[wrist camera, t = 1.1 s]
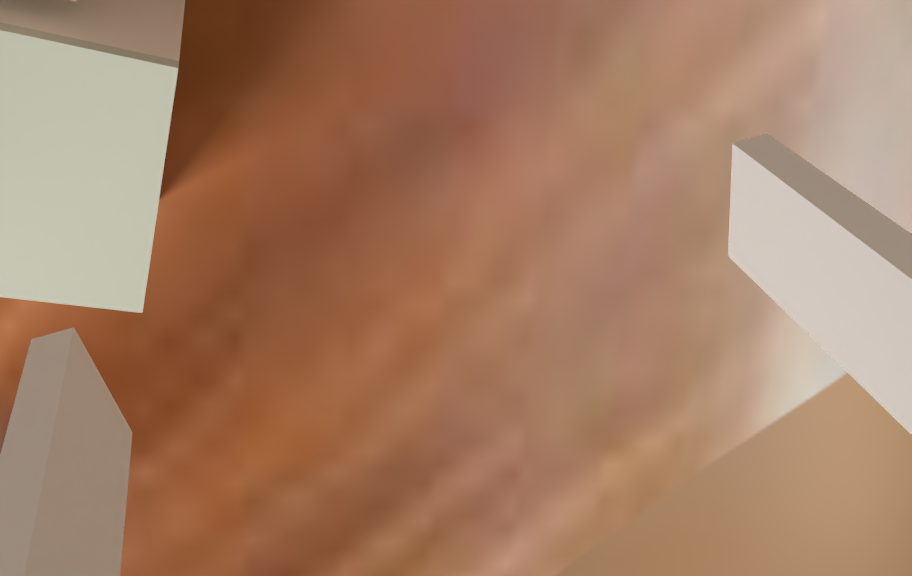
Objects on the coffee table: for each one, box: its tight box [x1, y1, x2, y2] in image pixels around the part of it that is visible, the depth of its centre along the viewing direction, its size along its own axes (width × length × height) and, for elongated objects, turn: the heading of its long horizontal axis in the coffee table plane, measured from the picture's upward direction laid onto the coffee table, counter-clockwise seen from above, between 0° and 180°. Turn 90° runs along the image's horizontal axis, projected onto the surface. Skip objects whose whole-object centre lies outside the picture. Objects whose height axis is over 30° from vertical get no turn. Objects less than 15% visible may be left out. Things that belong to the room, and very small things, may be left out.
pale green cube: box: [0, 0, 185, 313], centre depth 30 cm, size 9×9×9 cm
